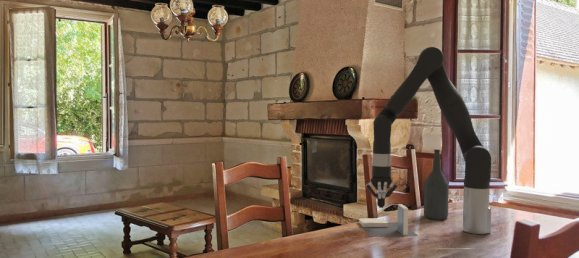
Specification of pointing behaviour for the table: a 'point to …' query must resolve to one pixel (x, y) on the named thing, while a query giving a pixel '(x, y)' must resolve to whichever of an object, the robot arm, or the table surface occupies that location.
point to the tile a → (373, 222)
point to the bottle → (436, 192)
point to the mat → (387, 231)
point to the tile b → (402, 219)
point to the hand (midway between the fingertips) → (380, 207)
